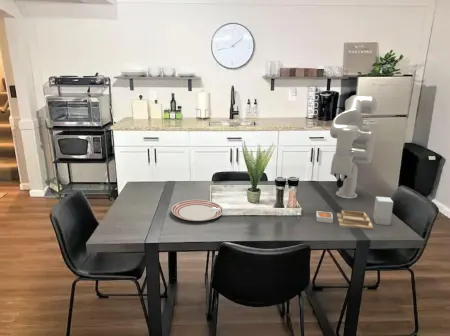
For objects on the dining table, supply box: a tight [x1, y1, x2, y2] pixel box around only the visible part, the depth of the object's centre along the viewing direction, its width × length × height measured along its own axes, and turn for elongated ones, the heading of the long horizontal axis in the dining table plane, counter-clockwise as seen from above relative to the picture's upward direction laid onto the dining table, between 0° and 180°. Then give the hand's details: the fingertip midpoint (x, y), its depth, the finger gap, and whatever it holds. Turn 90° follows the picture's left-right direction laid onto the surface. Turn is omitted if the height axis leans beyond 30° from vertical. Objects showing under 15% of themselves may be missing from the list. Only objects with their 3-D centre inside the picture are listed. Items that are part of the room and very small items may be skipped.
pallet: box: [336, 209, 374, 231], centre depth 187 cm, size 16×16×4 cm
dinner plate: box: [171, 199, 224, 222], centre depth 193 cm, size 27×27×3 cm
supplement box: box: [372, 196, 394, 226], centre depth 187 cm, size 7×7×13 cm
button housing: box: [315, 210, 334, 224], centre depth 190 cm, size 8×8×3 cm
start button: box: [320, 211, 329, 217], centre depth 190 cm, size 5×5×2 cm
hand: (339, 186), depth 185 cm, fingers closed
